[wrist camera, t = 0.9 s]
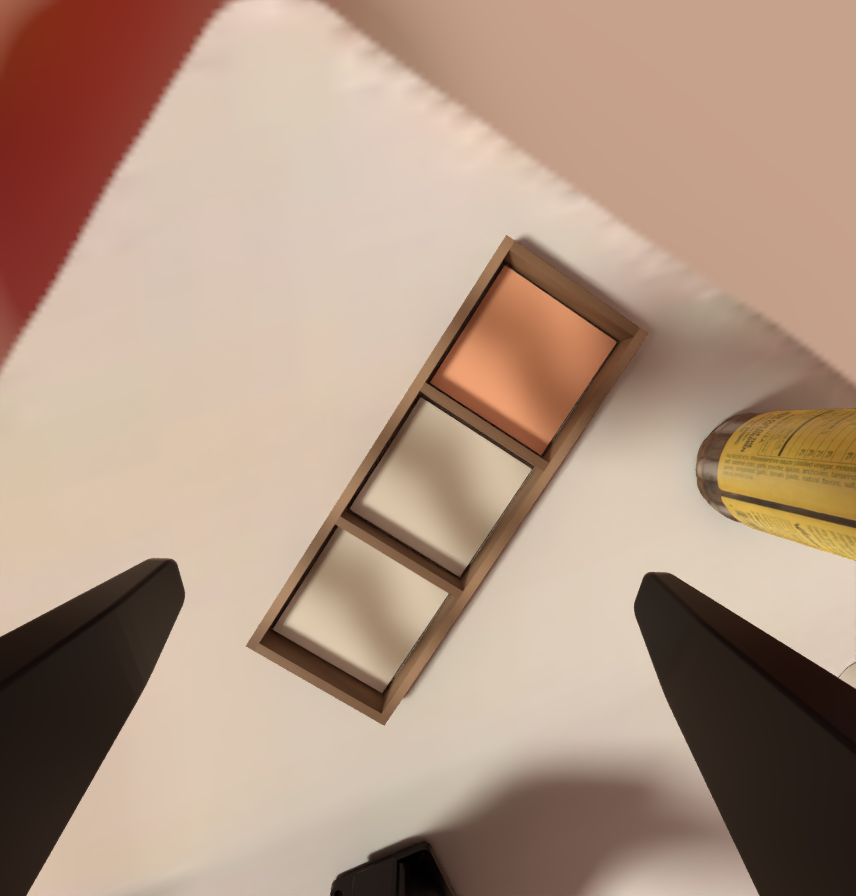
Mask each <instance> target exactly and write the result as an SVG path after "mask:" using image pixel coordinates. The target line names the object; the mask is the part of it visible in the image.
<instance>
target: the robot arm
mask: <svg viewBox="0 0 856 896" xmlns="http://www.w3.org/2000/svg"><path fill="white" fill-rule="evenodd" d="M184 599H185V590H184V586H183V583H182V579H181V576H180V572H179V569H178V565H177V563H176V562H175V561H174V560H173V559H168V558H151V559H148V560H145V561H144V562H142V563H140V564H138V565H136V566H134V567H132V568H130V569H128V570H127V571H125V572H123V573H121V574H119V575H117V576H115V577H113V578H111V579H109V580H108V581H106V582H104V583H102V584H100V585H98V586H96V587H94V588H92V589H90V590H89V591H87V592H85V593H83V594H81V595H79V596H77V597H75V598H73V599H71V600H70V601H68V602H66V603H64V604H62V605H60V606H58V607H56V608H54V609H53V610H51V611H49V612H47V613H45V614H43V615H41V616H39V617H37V618H35V619H34V620H32V621H30V622H28V623H26V624H24V625H22V626H20V627H18V628H16V629H15V630H13V631H11V632H9V633H7V634H5V635H3V636H1V637H0V896H26V895H27V893H28V892H29V890H30V888H31V886H32V885H33V883H34V881H35V879H36V878H37V876H38V874H39V872H40V871H41V869H42V867H43V865H44V864H45V862H46V860H47V858H48V857H49V855H50V853H51V851H52V850H53V848H54V846H55V844H56V843H57V841H58V839H59V837H60V836H61V834H62V832H63V830H64V829H65V827H66V825H67V823H68V822H69V820H70V818H71V816H72V815H73V813H74V811H75V809H76V808H77V806H78V804H79V802H80V801H81V799H82V797H83V795H84V794H85V792H86V790H87V788H88V787H89V785H90V783H91V781H92V780H93V778H94V776H95V774H96V773H97V771H98V769H99V767H100V766H101V764H102V762H103V760H104V759H105V757H106V755H107V753H108V752H109V750H110V748H111V746H112V745H113V743H114V741H115V739H116V738H117V736H118V734H119V732H120V731H121V729H122V727H123V725H124V724H125V722H126V720H127V718H128V717H129V715H130V713H131V711H132V710H133V708H134V706H135V704H136V703H137V701H138V699H139V697H140V695H141V693H142V692H143V690H144V688H145V686H146V684H147V682H148V680H149V678H150V676H151V674H152V672H153V670H154V667H155V665H156V663H157V661H158V659H159V656H160V654H161V652H162V650H163V648H164V645H165V643H166V641H167V639H168V637H169V634H170V632H171V630H172V628H173V626H174V623H175V621H176V619H177V617H178V615H179V612H180V610H181V608H182V606H183V603H184ZM634 612H635V616H636V619H637V622H638V625H639V627H640V630H641V633H642V636H643V638H644V641H645V644H646V647H647V649H648V652H649V655H650V658H651V660H652V663H653V666H654V668H655V671H656V674H657V677H658V679H659V682H660V685H661V687H662V690H663V692H664V695H665V697H666V699H667V702H668V704H669V706H670V708H671V710H672V713H673V715H674V717H675V719H676V721H677V723H678V725H679V727H680V729H681V731H682V734H683V736H684V738H685V740H686V742H687V744H688V746H689V748H690V750H691V753H692V755H693V757H694V759H695V761H696V763H697V765H698V767H699V769H700V771H701V774H702V776H703V778H704V780H705V782H706V784H707V786H708V788H709V790H710V793H711V795H712V797H713V799H714V801H715V803H716V805H717V807H718V809H719V811H720V814H721V816H722V818H723V820H724V822H725V824H726V826H727V828H728V830H729V833H730V835H731V837H732V839H733V841H734V843H735V845H736V847H737V849H738V851H739V854H740V856H741V858H742V860H743V862H744V864H745V866H746V868H747V870H748V873H749V875H750V877H751V879H752V881H753V883H754V885H755V887H756V889H757V892H758V894H759V896H856V689H855V688H854V687H852V686H851V685H849V684H847V683H846V682H844V681H843V680H841V679H839V678H838V677H836V676H835V675H833V674H831V673H830V672H828V671H827V670H825V669H823V668H822V667H820V666H819V665H817V664H815V663H814V662H812V661H811V660H809V659H807V658H806V657H804V656H802V655H801V654H799V653H798V652H796V651H794V650H793V649H791V648H790V647H788V646H786V645H785V644H783V643H782V642H780V641H778V640H777V639H775V638H774V637H772V636H770V635H769V634H767V633H766V632H764V631H762V630H761V629H759V628H758V627H756V626H754V625H753V624H751V623H749V622H748V621H746V620H745V619H743V618H741V617H740V616H738V615H737V614H735V613H733V612H732V611H730V610H729V609H727V608H725V607H724V606H722V605H721V604H719V603H717V602H716V601H714V600H713V599H711V598H709V597H708V596H706V595H705V594H703V593H701V592H700V591H698V590H696V589H695V588H693V587H692V586H690V585H688V584H687V583H685V582H684V581H682V580H680V579H679V578H677V577H676V576H674V575H672V574H670V573H666V572H649V573H647V574H645V575H644V577H643V580H642V583H641V586H640V588H639V591H638V594H637V597H636V600H635V603H634ZM423 853H424V854H423ZM330 896H456V894H455V892H454V891H453V889H452V887H451V885H450V883H449V881H448V879H447V877H446V875H445V873H444V871H443V869H442V867H441V865H440V863H439V861H438V859H437V857H436V855H435V853H434V851H433V849H432V847H431V845H430V844H428V843H426V842H422V843H419V844H416V845H414V846H412V847H410V848H407V849H405V850H403V851H400V852H398V853H396V854H393V855H391V856H389V857H386V858H384V859H382V860H380V861H377V862H375V863H373V864H370V865H368V866H366V867H363V868H361V869H359V870H357V871H354V872H352V873H350V874H347V875H345V876H343V877H340V878H338V879H336V880H335V881H333V883H332V887H331V893H330Z"/></svg>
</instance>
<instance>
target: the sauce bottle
mask: <svg viewBox="0 0 856 896" xmlns="http://www.w3.org/2000/svg"><path fill="white" fill-rule="evenodd" d="M696 476H697V485H698V488H699V490H700V493H701V494H702V496H703V497H704V498H705V499H706V500H707V502H708V503H709V504H710V505H711V506H712V507H713V508H714V509H715V510H717V511H718V512H719V513H721V514H723V515H724V516H725V517H727V518H729V519H731V520H734V521H736V522H740V523H743V524H745V525H747V526H749V527H751V528H753V529H757V530H760V531H763V532H766V533H769V534H772V535H775V536H778V537H782V538H785V539H788V540H791V541H794V542H798V543H801V544H804V545H807V546H810V547H813V548H816V549H820V550H823V551H826V552H829V553H833V554H836V555H839V556H842V557H845V558H848V559H852V560H855V561H856V408H848V409H819V410H785V411H773V412H767V413H764V414H754V413H749V414H744V415H740V416H737V417H733V418H732V419H730V420H728V421H726V422H725V423H723V424H722V425H720V426H719V427H718V428H717V429H716V430H715V431H713V432H712V433H711V434H710V436H709V437H708V438H707V439H706V440H705V441H704V442H703V443H702V445H701V447H700V449H699V452H698V456H697V463H696Z"/></svg>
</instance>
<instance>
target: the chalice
mask: <svg viewBox="0 0 856 896" xmlns="http://www.w3.org/2000/svg"><path fill="white" fill-rule="evenodd" d="M839 679H841V680H843V681H844V682H846V683H847V684H849V685H851V686H852V687H854V688H855V689H856V663H854V664H853V665H851V666H850V667H848V668H847V669H846V670H845V671H844V672H843V673H842V675H841V676H840V677H839Z"/></svg>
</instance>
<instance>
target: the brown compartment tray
mask: <svg viewBox="0 0 856 896" xmlns="http://www.w3.org/2000/svg"><path fill="white" fill-rule="evenodd" d="M502 262H504V263H506V264H507V265H509V266H510V267H511V268H513V269H514V270H516V271H517V272H519V273H520V274H522V275H523V276H525V277H526V278H527V279H529V280H530V281H532V282H533V283H535V284H536V285H538V286H539V287H540V288H542V289H543V290H545V291H546V292H548V293H549V294H551V295H552V296H554V297H555V298H556V299H558V300H559V301H561V302H562V303H564V304H565V305H567V306H568V307H569V308H571V309H572V310H574V311H575V312H577V313H578V314H580V315H581V316H583V317H584V318H585V319H587V320H588V321H590V322H591V323H593V324H594V325H596V326H597V327H599V328H600V329H601V330H603V331H604V332H606V333H607V334H609V335H610V336H612V337H613V338H614V339H616V340H617V341H619V343H618V344H617V346H616V347H615V349H614V350H613V352H612V353H611V355H610V356H609V358H608V359H607V361H606V362H605V364H604V365H603V367H602V368H601V370H600V371H599V373H598V374H597V376H596V377H595V379H594V380H593V382H592V383H591V385H590V386H589V388H588V389H587V391H586V392H585V394H584V395H583V397H582V398H581V400H580V401H579V403H578V404H577V406H576V407H575V409H574V410H573V412H572V413H571V415H570V416H569V418H568V419H567V421H566V422H565V424H564V425H563V427H562V428H561V430H560V431H559V433H558V434H557V436H556V437H555V439H554V440H553V442H552V443H551V445H550V446H549V448H548V449H547V451H546V452H545V454H544V455H543V457H542V458H541V457H539V456H538V455H536V454H535V453H533V452H531V451H530V450H528V449H527V448H525V447H524V446H522V445H521V444H519V443H518V442H516V441H515V440H513V439H512V438H510V437H508V436H507V435H505V434H504V433H502V432H501V431H499V430H498V429H496V428H495V427H493V426H492V425H490V424H489V423H487V422H485V421H484V420H482V419H481V418H479V417H478V416H476V415H475V414H473V413H472V412H470V411H469V410H467V409H466V408H464V407H462V406H461V405H459V404H458V403H456V402H455V401H453V400H452V399H450V398H449V397H447V396H446V395H444V394H443V393H441V392H439V391H438V390H436V389H435V388H433V387H432V386H430V385H429V384H427V383H426V381H427V380H428V378H429V376H430V375H431V373H432V372H433V370H434V369H435V367H436V365H437V364H438V362H439V361H440V359H441V358H442V356H443V354H444V353H445V351H446V350H447V348H448V347H449V345H450V343H451V342H452V340H453V339H454V337H455V336H456V334H457V332H458V331H459V329H460V328H461V326H462V325H463V323H464V321H465V320H466V318H467V317H468V315H469V314H470V312H471V310H472V309H473V307H474V306H475V304H476V303H477V301H478V299H479V298H480V296H481V295H482V293H483V292H484V290H485V288H486V287H487V285H488V284H489V282H490V281H491V279H492V277H493V276H494V274H495V273H496V271H497V270H498V268H499V266H500V265H501V263H502ZM647 334H648V333H647V332H645V331H644V330H642V329H641V328H639V327H638V326H637V325H635V324H634V323H632V322H631V321H629V320H628V319H626V318H625V317H624V316H622V315H621V314H619V313H618V312H616V311H615V310H613V309H612V308H611V307H609V306H608V305H606V304H605V303H603V302H602V301H601V300H599V299H598V298H596V297H595V296H593V295H592V294H590V293H589V292H588V291H586V290H585V289H583V288H582V287H580V286H579V285H578V284H576V283H575V282H573V281H572V280H570V279H569V278H567V277H566V276H565V275H563V274H562V273H560V272H559V271H557V270H556V269H555V268H553V267H552V266H550V265H549V264H547V263H546V262H544V261H543V260H542V259H540V258H539V257H537V256H536V255H534V254H533V253H532V252H530V251H529V250H527V249H526V248H524V247H523V246H521V245H520V244H519V243H517V242H516V241H514V240H513V239H511V238H510V237H509V236H507V235H506V236H505V238H504V240H503V241H502V243H501V244H500V246H499V247H498V249H497V251H496V252H495V254H494V255H493V257H492V259H491V260H490V262H489V263H488V265H487V266H486V268H485V270H484V271H483V273H482V274H481V276H480V277H479V279H478V281H477V282H476V284H475V285H474V287H473V288H472V290H471V292H470V293H469V295H468V296H467V298H466V300H465V301H464V303H463V304H462V306H461V307H460V309H459V311H458V312H457V314H456V315H455V317H454V318H453V320H452V322H451V323H450V325H449V326H448V328H447V330H446V331H445V333H444V334H443V336H442V337H441V339H440V341H439V342H438V344H437V345H436V347H435V348H434V350H433V352H432V353H431V355H430V356H429V358H428V359H427V361H426V363H425V364H424V366H423V367H422V369H421V371H420V372H419V374H418V375H417V377H416V378H415V380H414V382H413V383H412V385H411V386H410V388H409V389H408V391H407V393H406V394H405V396H404V397H403V399H402V400H401V402H400V404H399V405H398V407H397V408H396V410H395V412H394V413H393V415H392V416H391V418H390V419H389V421H388V423H387V424H386V426H385V427H384V429H383V430H382V432H381V434H380V435H379V437H378V438H377V440H376V442H375V443H374V445H373V446H372V448H371V449H370V451H369V453H368V454H367V456H366V457H365V459H364V460H363V462H362V464H361V465H360V467H359V468H358V470H357V471H356V473H355V475H354V476H353V478H352V479H351V481H350V483H349V484H348V486H347V487H346V489H345V490H344V492H343V494H342V495H341V497H340V498H339V500H338V501H337V503H336V505H335V506H334V508H333V509H332V511H331V512H330V514H329V516H328V517H327V519H326V520H325V522H324V524H323V525H322V527H321V528H320V530H319V531H318V533H317V535H316V536H315V538H314V539H313V541H312V542H311V544H310V546H309V547H308V549H307V550H306V552H305V554H304V555H303V557H302V558H301V560H300V561H299V563H298V565H297V566H296V568H295V569H294V571H293V572H292V574H291V576H290V577H289V579H288V580H287V582H286V583H285V585H284V587H283V588H282V590H281V591H280V593H279V595H278V596H277V598H276V599H275V601H274V602H273V604H272V606H271V607H270V609H269V610H268V612H267V613H266V615H265V617H264V618H263V620H262V621H261V623H260V624H259V626H258V628H257V629H256V631H255V632H254V634H253V636H252V637H251V639H250V640H249V642H248V643H247V645H246V647H248V648H250V649H252V650H253V651H255V652H257V653H259V654H260V655H262V656H264V657H266V658H267V659H269V660H271V661H273V662H274V663H276V664H278V665H280V666H281V667H283V668H285V669H286V670H288V671H290V672H292V673H293V674H295V675H297V676H299V677H300V678H302V679H304V680H306V681H307V682H309V683H311V684H313V685H314V686H316V687H318V688H320V689H321V690H323V691H325V692H327V693H328V694H330V695H332V696H334V697H335V698H337V699H339V700H340V701H342V702H344V703H346V704H347V705H349V706H351V707H353V708H354V709H356V710H358V711H360V712H361V713H363V714H365V715H367V716H368V717H370V718H372V719H374V720H375V721H377V722H379V723H381V724H382V725H385V724H386V722H387V721H388V719H389V718H390V716H391V715H392V713H393V712H394V710H395V709H396V707H397V706H398V705H399V703H400V702H401V700H402V699H403V697H404V696H405V694H406V693H407V691H408V690H409V688H410V687H411V685H412V684H413V682H414V681H415V679H416V678H417V676H418V675H419V673H420V672H421V670H422V669H423V667H424V666H425V664H426V663H427V661H428V660H429V658H430V657H431V655H432V654H433V652H434V651H435V650H436V648H437V647H438V645H439V644H440V642H441V641H442V639H443V638H444V636H445V635H446V633H447V632H448V630H449V629H450V627H451V626H452V624H453V623H454V621H455V620H456V618H457V617H458V615H459V614H460V612H461V611H462V609H463V608H464V606H465V605H466V603H467V602H468V600H469V599H470V598H471V596H472V595H473V593H474V592H475V590H476V589H477V587H478V586H479V584H480V583H481V581H482V580H483V578H484V577H485V575H486V574H487V572H488V571H489V569H490V568H491V566H492V565H493V563H494V562H495V560H496V559H497V557H498V556H499V554H500V553H501V551H502V550H503V548H504V547H505V545H506V544H507V543H508V541H509V540H510V538H511V537H512V535H513V534H514V532H515V531H516V529H517V528H518V526H519V525H520V523H521V522H522V520H523V519H524V517H525V516H526V514H527V513H528V511H529V510H530V508H531V507H532V505H533V504H534V502H535V501H536V499H537V498H538V496H539V495H540V493H541V492H542V490H543V489H544V488H545V486H546V485H547V483H548V482H549V480H550V479H551V477H552V476H553V474H554V473H555V471H556V470H557V468H558V467H559V465H560V464H561V462H562V461H563V459H564V458H565V456H566V455H567V453H568V452H569V450H570V449H571V447H572V446H573V444H574V443H575V441H576V440H577V438H578V437H579V435H580V434H581V433H582V431H583V430H584V428H585V427H586V425H587V424H588V422H589V421H590V419H591V418H592V416H593V415H594V413H595V412H596V410H597V409H598V407H599V406H600V404H601V403H602V401H603V400H604V398H605V397H606V395H607V394H608V392H609V391H610V389H611V388H612V386H613V385H614V383H615V382H616V381H617V379H618V378H619V376H620V375H621V373H622V372H623V370H624V369H625V367H626V366H627V364H628V363H629V361H630V360H631V358H632V357H633V355H634V354H635V352H636V351H637V349H638V348H639V346H640V345H641V343H642V342H643V340H644V339H645V337H646V336H647ZM616 343H617V342H616V341H615V340H613V339H612V338H610V337H609V336H608V335H606V334H605V333H603V332H602V331H600V330H599V329H597V328H596V327H595V326H593V325H592V324H590V323H589V322H587V321H586V320H584V319H583V318H581V317H580V316H579V315H577V314H576V313H574V312H573V311H571V310H570V309H568V308H567V307H565V306H564V305H563V304H561V303H560V302H558V301H557V300H555V299H554V298H552V297H551V296H550V295H548V294H547V293H545V292H544V291H542V290H541V289H539V288H538V287H536V286H535V285H534V284H532V283H531V282H529V281H528V280H526V279H525V278H523V277H522V276H520V275H519V274H518V273H516V272H515V271H513V270H512V269H510V268H509V267H507V266H506V265H505V266H504V267H503V269H502V270H501V272H500V273H499V275H498V276H497V278H496V280H495V281H494V283H493V284H492V286H491V287H490V289H489V291H488V292H487V294H486V295H485V297H484V298H483V300H482V302H481V303H480V305H479V306H478V308H477V309H476V311H475V313H474V314H473V316H472V317H471V319H470V320H469V322H468V324H467V325H466V327H465V328H464V330H463V331H462V333H461V335H460V336H459V338H458V339H457V341H456V342H455V344H454V346H453V347H452V349H451V350H450V352H449V353H448V355H447V357H446V358H445V360H444V361H443V363H442V364H441V366H440V368H439V369H438V371H437V372H436V374H435V375H434V377H433V378H432V380H431V382H430V384H432V385H433V386H435V387H437V388H438V389H440V390H441V391H443V392H444V393H446V394H447V395H449V396H450V397H452V398H453V399H455V400H456V401H458V402H460V403H461V404H463V405H464V406H466V407H467V408H469V409H470V410H472V411H473V412H475V413H476V414H478V415H479V416H481V417H483V418H484V419H486V420H487V421H489V422H490V423H492V424H493V425H495V426H496V427H498V428H499V429H501V430H502V431H504V432H505V433H507V434H509V435H510V436H512V437H513V438H515V439H516V440H518V441H519V442H521V443H522V444H524V445H525V446H527V447H528V448H530V449H532V450H533V451H535V452H536V453H538V454H539V455H542V453H543V452H544V450H545V449H546V447H547V446H548V444H549V443H550V441H551V440H552V438H553V437H554V435H555V434H556V432H557V431H558V429H559V428H560V426H561V425H562V423H563V422H564V420H565V419H566V417H567V416H568V414H569V413H570V411H571V410H572V408H573V407H574V405H575V404H576V402H577V401H578V399H579V398H580V396H581V395H582V393H583V392H584V390H585V389H586V387H587V386H588V384H589V383H590V381H591V380H592V378H593V377H594V375H595V374H596V372H597V371H598V369H599V368H600V366H601V365H602V363H603V362H604V360H605V359H606V357H607V356H608V354H609V353H610V351H611V350H612V348H613V347H614V346H615V344H616ZM419 392H420V393H422V394H423V395H425V396H426V397H428V398H430V399H431V400H433V401H434V402H436V403H437V404H439V405H440V406H442V407H443V408H445V409H446V410H448V411H450V412H451V413H453V414H454V415H456V416H457V417H459V418H460V419H462V420H463V421H465V422H466V423H468V424H470V425H471V426H473V427H474V428H476V429H477V430H479V431H480V432H482V433H483V434H485V435H487V436H488V437H490V438H491V439H493V440H494V441H496V442H497V443H499V444H500V445H502V446H503V447H505V448H507V449H508V450H510V451H511V452H513V453H514V454H516V455H517V456H519V457H520V458H522V459H523V460H525V461H527V462H528V463H530V464H531V465H533V466H534V467H535V469H534V470H533V472H532V473H531V475H530V476H529V478H528V479H527V481H526V482H525V484H524V485H523V486H522V488H521V489H520V491H519V492H518V494H517V495H516V497H515V498H514V500H513V501H512V503H511V504H510V506H509V507H508V509H507V510H506V512H505V513H504V515H503V516H502V518H501V519H500V521H499V522H498V524H497V525H496V527H495V528H494V530H493V531H492V533H491V534H490V536H489V537H488V539H487V540H486V542H485V543H484V545H483V546H482V548H481V549H480V551H479V552H478V554H477V555H476V557H475V558H474V560H473V561H472V563H471V564H470V566H469V567H468V569H467V570H466V572H465V573H464V575H463V576H462V578H461V579H458V578H457V577H455V576H454V575H452V574H450V573H449V572H447V571H445V570H444V569H442V568H441V567H439V566H437V565H436V564H434V563H432V562H431V561H429V560H428V559H426V558H424V557H423V556H421V555H419V554H418V553H416V552H415V551H413V550H411V549H410V548H408V547H406V546H405V545H403V544H402V543H400V542H398V541H397V540H395V539H393V538H392V537H390V536H389V535H387V534H385V533H384V532H382V531H380V530H379V529H377V528H376V527H374V526H372V525H371V524H369V523H367V522H366V521H364V520H363V519H361V518H359V517H358V516H356V515H354V514H353V513H351V512H349V511H348V510H346V509H345V508H346V507H347V505H348V504H349V502H350V501H351V499H352V497H353V496H354V494H355V493H356V491H357V490H358V488H359V486H360V485H361V483H362V482H363V480H364V479H365V477H366V475H367V474H368V472H369V471H370V469H371V468H372V466H373V464H374V463H375V461H376V460H377V458H378V457H379V455H380V453H381V452H382V450H383V449H384V447H385V446H386V444H387V442H388V441H389V439H390V438H391V436H392V435H393V433H394V431H395V430H396V428H397V427H398V425H399V424H400V422H401V420H402V419H403V417H404V416H405V414H406V413H407V411H408V409H409V408H410V406H411V405H412V403H413V402H414V400H415V398H416V397H417V395H418V394H419ZM531 470H532V469H531V468H529V467H528V466H526V465H525V464H523V463H522V462H520V461H519V460H517V459H516V458H514V457H512V456H511V455H509V454H508V453H506V452H505V451H503V450H502V449H500V448H499V447H497V446H496V445H494V444H492V443H491V442H489V441H488V440H486V439H485V438H483V437H482V436H480V435H479V434H477V433H475V432H474V431H472V430H471V429H469V428H468V427H466V426H465V425H463V424H462V423H460V422H458V421H457V420H455V419H454V418H452V417H451V416H449V415H448V414H446V413H445V412H443V411H442V410H440V409H438V408H437V407H435V406H434V405H432V404H431V403H429V402H428V401H426V400H425V399H423V398H421V397H420V399H419V400H418V402H417V404H416V405H415V407H414V408H413V410H412V411H411V413H410V415H409V416H408V418H407V419H406V421H405V422H404V424H403V426H402V427H401V429H400V430H399V432H398V433H397V435H396V437H395V438H394V440H393V441H392V443H391V444H390V446H389V448H388V449H387V451H386V452H385V454H384V455H383V457H382V459H381V460H380V462H379V463H378V465H377V466H376V468H375V470H374V471H373V473H372V474H371V476H370V477H369V479H368V481H367V482H366V484H365V485H364V487H363V488H362V490H361V491H360V493H359V495H358V496H357V498H356V499H355V501H354V502H353V504H352V506H351V507H350V510H352V511H353V512H355V513H356V514H358V515H360V516H361V517H363V518H365V519H366V520H368V521H369V522H371V523H373V524H374V525H376V526H378V527H379V528H381V529H382V530H384V531H386V532H387V533H389V534H391V535H392V536H394V537H395V538H397V539H399V540H400V541H402V542H404V543H405V544H407V545H408V546H410V547H412V548H413V549H415V550H417V551H418V552H420V553H421V554H423V555H425V556H426V557H428V558H430V559H431V560H433V561H434V562H436V563H438V564H439V565H441V566H443V567H444V568H446V569H447V570H449V571H451V572H452V573H454V574H456V575H457V576H459V577H460V576H461V575H462V573H463V572H464V570H465V569H466V567H467V566H468V564H469V563H470V561H471V560H472V558H473V557H474V555H475V554H476V552H477V551H478V549H479V548H480V546H481V545H482V543H483V542H484V540H485V539H486V537H487V536H488V534H489V533H490V531H491V530H492V528H493V527H494V525H495V524H496V522H497V521H498V519H499V518H500V516H501V515H502V513H503V512H504V510H505V509H506V507H507V506H508V504H509V503H510V501H511V500H512V498H513V497H514V495H515V494H516V492H517V491H518V489H519V488H520V486H521V485H522V483H523V482H524V480H525V479H526V477H527V476H528V474H529V473H530V471H531ZM335 525H337V526H338V528H337V529H336V531H335V532H334V534H333V535H332V537H331V539H330V540H329V542H328V543H327V545H326V546H325V548H324V550H323V551H322V553H321V554H320V556H319V557H318V559H317V561H316V562H315V564H314V565H313V567H312V568H311V570H310V572H309V573H308V575H307V576H306V578H305V579H304V581H303V583H302V584H301V586H300V587H299V589H298V590H297V592H296V594H295V595H294V597H293V598H292V600H291V601H290V603H289V604H288V606H287V608H286V609H285V611H284V612H283V614H282V615H281V617H280V619H279V620H278V622H277V623H276V625H275V626H274V628H273V629H271V628H270V626H271V625H272V623H273V622H274V620H275V618H276V617H277V615H278V614H279V612H280V611H281V609H282V607H283V606H284V604H285V603H286V601H287V600H288V598H289V596H290V595H291V593H292V592H293V590H294V589H295V587H296V585H297V584H298V582H299V581H300V579H301V578H302V576H303V574H304V573H305V571H306V570H307V568H308V567H309V565H310V563H311V562H312V560H313V559H314V557H315V556H316V554H317V552H318V551H319V549H320V548H321V546H322V545H323V543H324V541H325V540H326V538H327V537H328V535H329V534H330V532H331V530H332V529H333V527H334V526H335ZM448 594H450V596H449V597H448V599H447V600H446V602H445V603H444V605H443V606H442V608H441V609H440V611H439V612H438V614H437V615H436V617H435V618H434V620H433V621H432V623H431V624H430V626H429V627H428V629H427V630H426V632H425V633H424V635H423V636H422V638H421V639H420V641H419V642H418V644H417V645H416V647H415V648H414V650H413V651H412V653H411V654H410V656H409V657H408V659H407V660H406V662H405V663H404V665H403V666H402V668H401V669H400V671H399V672H398V674H397V675H396V677H395V678H394V680H393V681H392V682H391V684H390V685H389V687H388V688H387V690H386V691H385V693H384V694H383V691H384V690H385V688H386V687H387V685H388V684H389V682H390V681H391V679H392V678H393V676H394V675H395V673H396V672H397V670H398V669H399V667H400V666H401V664H402V663H403V661H404V660H405V658H406V657H407V655H408V654H409V652H410V651H411V649H412V648H413V646H414V645H415V643H416V642H417V640H418V639H419V637H420V636H421V634H422V633H423V631H424V630H425V628H426V627H427V625H428V624H429V622H430V621H431V619H432V618H433V616H434V615H435V613H436V612H437V610H438V609H439V608H440V606H441V605H442V603H443V602H444V600H445V599H446V597H447V596H448Z"/></svg>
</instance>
